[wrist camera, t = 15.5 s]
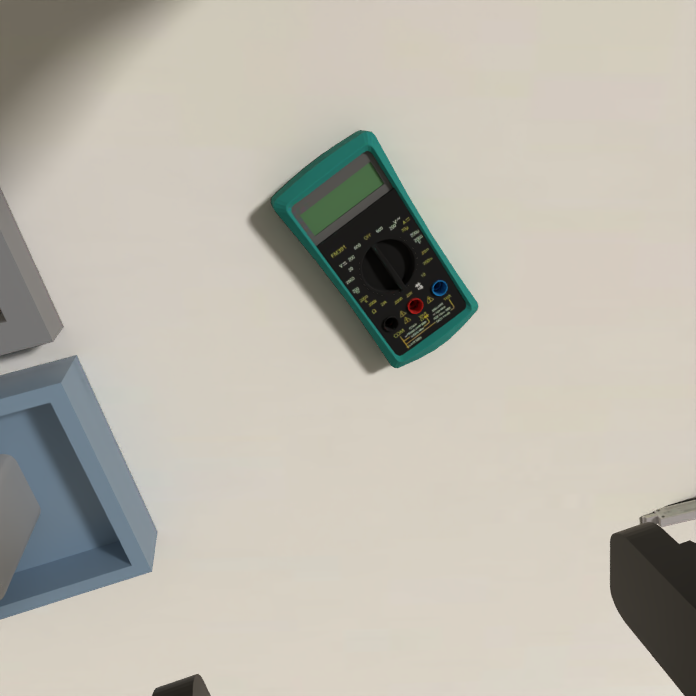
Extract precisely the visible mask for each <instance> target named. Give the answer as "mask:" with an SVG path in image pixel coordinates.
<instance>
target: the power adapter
mask: <svg viewBox="0 0 696 696" xmlns="http://www.w3.org/2000/svg"><path fill="white" fill-rule="evenodd" d="M40 513H41V509H40V506H39V504H38V502H37V500H36V498H35V496H34V494H33V492H32V490H31V488H30V486H29V484H28V482H27V480H26V479H25V477H24V475H23V473H22V471H21V469H20V467H19V465H18V463H17V461H16V460H15V458H13V457H12V456H10V455H7V454H0V600H1V599H2V598H3V597H4V595H5V593H6V591H7V589H8V586H9V584H10V582H11V579H12V577H13V575H14V573H15V570H16V568H17V566H18V563H19V561H20V559H21V557H22V554H23V552H24V550H25V547H26V545H27V543H28V541H29V538H30V536H31V534H32V531H33V529H34V527H35V525H36V522H37V520H38V518H39V515H40Z"/></svg>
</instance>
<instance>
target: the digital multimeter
mask: <svg viewBox="0 0 696 696" xmlns="http://www.w3.org/2000/svg"><path fill="white" fill-rule="evenodd" d="M271 204H272V207H273V208H274V210H275V212H276V213H277V214H278V215H279V217H280V218H281V219H282V220H283V221H284V223H285V224H286V225H287V226H288V227H289V229H290V230H291V231H292V232H293V234H294V235H295V236H296V237H297V238H298V240H299V241H300V242H301V243H302V245H303V246H304V247H305V248H306V249H307V251H308V252H309V253H310V254H311V255H312V257H313V258H314V259H315V260H316V262H317V263H318V264H319V265H320V267H321V268H322V269H323V271H324V272H325V273H326V275H327V276H328V277H329V278H330V280H331V281H332V282H333V284H334V285H335V286H336V288H337V289H338V290H339V291H340V293H341V294H342V295H343V297H344V298H345V299H346V301H347V302H348V303H349V305H350V306H351V308H352V309H353V311H354V312H355V313H356V315H357V316H358V318H359V319H360V320H361V322H362V323H363V325H364V326H365V328H366V329H367V330H368V332H369V333H370V335H371V336H372V338H373V339H374V341H375V342H376V344H377V345H378V347H379V348H380V350H381V351H382V353H383V354H384V356H385V357H386V359H387V360H388V361H389V363H390V364H391V366H393V367H394V368H399V367H401V366H404V365H406V364H408V363H410V362H413V361H415V360H417V359H419V358H421V357H423V356H425V355H426V354H428V353H430V352H432V351H434V350H435V349H437V348H438V347H439V346H441V345H442V344H443V343H445V342H446V341H448V340H449V339H450V338H451V337H452V336H453V335H454V334H455V333H456V332H457V331H458V330H459V329H460V328H461V327H462V326H463V325H464V324H465V323H466V322H467V321H468V320H469V319H470V318H471V316H472V315H473V314H474V313H475V312H476V311H477V309H478V303H477V301H476V300H475V299H474V297H473V296H472V294H471V293H470V291H469V290H468V289H467V287H466V286H465V284H464V283H463V281H462V280H461V279H460V277H459V276H458V274H457V273H456V271H455V270H454V268H453V267H452V265H451V264H450V262H449V261H448V259H447V257H446V256H445V254H444V253H443V251H442V250H441V248H440V247H439V245H438V244H437V242H436V241H435V239H434V238H433V236H432V235H431V233H430V231H429V230H428V228H427V226H426V224H425V223H424V221H423V219H422V218H421V216H420V214H419V213H418V211H417V209H416V208H415V206H414V204H413V203H412V201H411V199H410V198H409V196H408V194H407V193H406V191H405V189H404V187H403V185H402V184H401V182H400V180H399V178H398V176H397V174H396V173H395V171H394V169H393V167H392V165H391V164H390V162H389V160H388V158H387V156H386V154H385V153H384V151H383V149H382V147H381V145H380V144H379V142H378V140H377V138H376V136H375V135H374V134H373V133H372V132H369V131H362V130H360V131H357V132H355V133H354V134H352V135H351V136H349V137H347V138H346V139H344V140H343V141H341V142H340V143H338V144H337V145H335V146H334V147H332V148H331V149H329V150H328V151H326V152H325V153H323V154H322V155H320V156H319V157H318V158H317V159H315V160H314V161H313V162H311V163H310V164H309V165H307V166H306V167H305V168H304V169H303V170H301V171H300V172H299V173H298V174H297V175H296V176H294V177H293V178H292V179H291V180H290V181H289V182H288V183H287V184H285V185H284V186H283V187H282V188H281V189H280V190H279V191H278V192H277V193H276V194H275V195H274V196H273V197H272V199H271ZM415 253H416V254H415ZM326 260H327V261H326ZM408 285H409V286H408ZM367 288H368V289H367ZM382 295H383V296H382ZM371 321H372V322H371ZM374 325H375V326H374ZM379 332H380V333H379ZM382 336H383V337H382ZM385 340H386V341H385ZM388 344H389V345H388Z"/></svg>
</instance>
